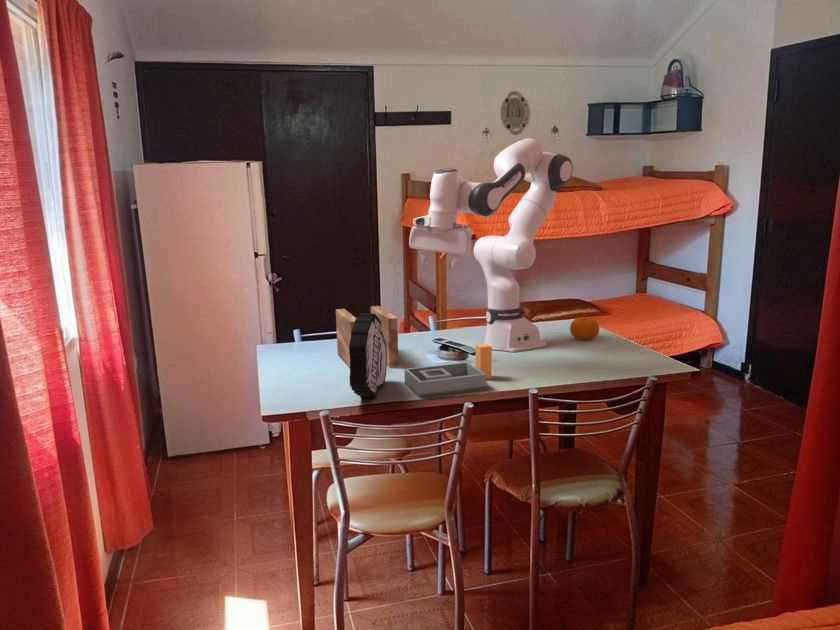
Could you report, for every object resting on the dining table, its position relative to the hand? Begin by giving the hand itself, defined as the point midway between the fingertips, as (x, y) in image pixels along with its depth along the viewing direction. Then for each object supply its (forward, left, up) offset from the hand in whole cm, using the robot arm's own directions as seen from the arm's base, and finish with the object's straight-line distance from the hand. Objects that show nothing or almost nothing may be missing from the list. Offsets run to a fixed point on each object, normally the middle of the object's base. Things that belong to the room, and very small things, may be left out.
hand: (437, 266), depth 210 cm
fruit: (-62, -13, -32) cm, 71 cm away
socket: (+9, +21, -32) cm, 40 cm away
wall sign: (+28, +20, -32) cm, 48 cm away
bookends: (+20, -15, -32) cm, 41 cm away
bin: (+6, +21, -32) cm, 39 cm away
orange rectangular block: (-8, +17, -32) cm, 37 cm away
